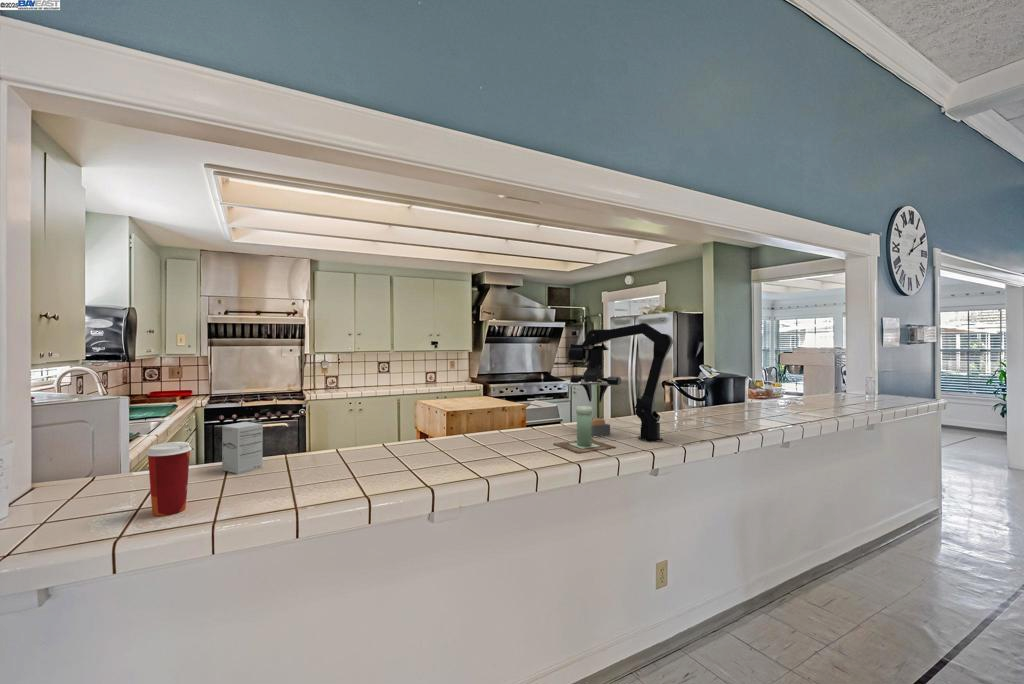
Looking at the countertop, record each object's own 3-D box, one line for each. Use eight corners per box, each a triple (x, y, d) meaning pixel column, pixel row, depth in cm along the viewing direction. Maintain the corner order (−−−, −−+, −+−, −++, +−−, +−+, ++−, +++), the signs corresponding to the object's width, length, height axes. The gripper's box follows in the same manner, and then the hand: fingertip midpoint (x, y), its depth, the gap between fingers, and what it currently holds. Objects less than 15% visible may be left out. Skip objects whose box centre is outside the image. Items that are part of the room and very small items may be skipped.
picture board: (590, 439, 164) (590, 438, 164) (615, 448, 152) (615, 446, 152) (553, 444, 156) (553, 443, 156) (577, 453, 144) (577, 452, 144)
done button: (596, 423, 178) (596, 417, 177) (604, 425, 173) (604, 419, 173) (585, 424, 175) (585, 418, 175) (594, 427, 170) (594, 420, 170)
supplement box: (221, 470, 124) (221, 425, 123) (247, 464, 130) (247, 420, 130) (237, 474, 120) (237, 427, 120) (263, 467, 127) (263, 423, 127)
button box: (596, 431, 179) (596, 421, 179) (609, 435, 172) (610, 424, 172) (580, 433, 176) (580, 422, 176) (593, 437, 169) (593, 426, 169)
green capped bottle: (582, 442, 158) (581, 405, 158) (594, 444, 154) (594, 406, 154) (573, 444, 154) (573, 407, 154) (586, 447, 150) (586, 408, 150)
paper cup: (200, 504, 98) (200, 441, 98) (171, 518, 91) (171, 450, 91) (166, 503, 99) (166, 440, 99) (135, 517, 91) (135, 449, 91)
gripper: (565, 362, 171) (565, 402, 171) (614, 363, 162) (614, 406, 163) (575, 360, 181) (574, 399, 181) (621, 362, 172) (621, 402, 172)
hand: (595, 402), depth 174 cm, fingers open, 4 cm apart
